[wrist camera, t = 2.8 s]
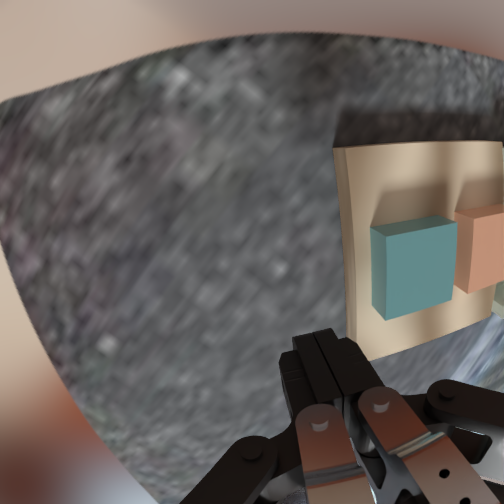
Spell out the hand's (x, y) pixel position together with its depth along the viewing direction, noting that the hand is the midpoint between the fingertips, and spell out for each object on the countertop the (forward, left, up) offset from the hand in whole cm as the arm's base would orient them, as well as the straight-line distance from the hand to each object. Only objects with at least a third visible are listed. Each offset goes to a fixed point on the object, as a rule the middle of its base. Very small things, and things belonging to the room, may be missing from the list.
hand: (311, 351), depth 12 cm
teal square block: (-5, -6, -6) cm, 10 cm away
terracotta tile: (-10, -11, -6) cm, 16 cm away
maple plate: (-7, -8, -8) cm, 14 cm away
